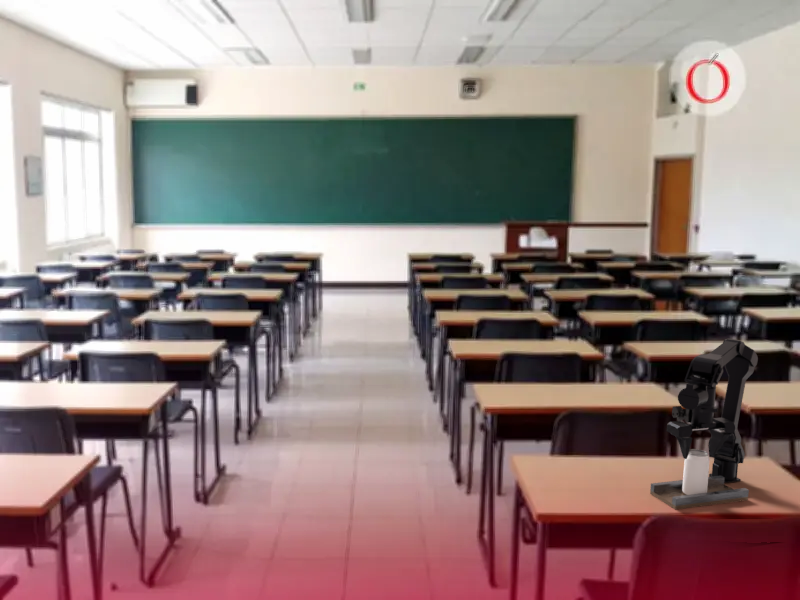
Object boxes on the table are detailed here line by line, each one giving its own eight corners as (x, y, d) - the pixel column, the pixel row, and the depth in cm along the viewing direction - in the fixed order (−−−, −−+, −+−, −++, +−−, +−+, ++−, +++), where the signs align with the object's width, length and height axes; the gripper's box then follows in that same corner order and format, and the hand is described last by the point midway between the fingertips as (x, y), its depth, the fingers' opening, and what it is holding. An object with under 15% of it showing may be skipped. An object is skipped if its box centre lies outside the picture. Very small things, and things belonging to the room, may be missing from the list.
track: (720, 485, 219) (720, 475, 219) (747, 500, 209) (748, 489, 209) (650, 493, 212) (650, 483, 212) (675, 509, 202) (676, 498, 201)
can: (708, 499, 207) (712, 457, 205) (684, 497, 208) (687, 455, 206) (704, 490, 213) (707, 449, 211) (680, 488, 214) (683, 447, 212)
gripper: (711, 392, 217) (706, 444, 219) (656, 396, 211) (652, 450, 213) (739, 403, 206) (734, 457, 208) (682, 407, 201) (677, 463, 203)
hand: (698, 456), depth 208 cm, fingers open, 9 cm apart
